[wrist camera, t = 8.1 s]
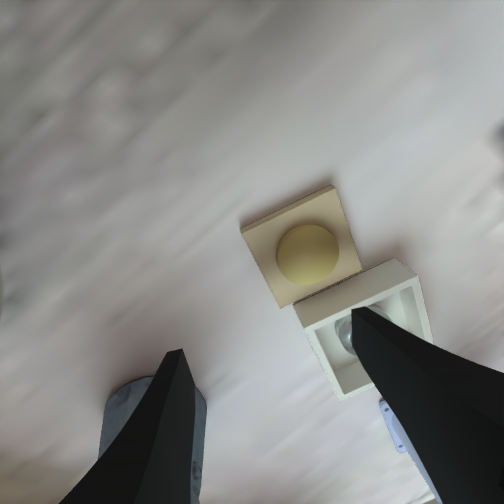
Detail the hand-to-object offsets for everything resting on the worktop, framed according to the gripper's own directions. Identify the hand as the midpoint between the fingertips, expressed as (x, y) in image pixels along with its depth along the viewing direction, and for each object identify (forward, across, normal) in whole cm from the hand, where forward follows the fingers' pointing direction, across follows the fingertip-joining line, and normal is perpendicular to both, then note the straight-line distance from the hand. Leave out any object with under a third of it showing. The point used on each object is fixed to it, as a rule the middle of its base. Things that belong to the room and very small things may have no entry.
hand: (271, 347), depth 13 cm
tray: (+10, -9, +9) cm, 16 cm away
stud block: (+10, -4, +1) cm, 11 cm away
